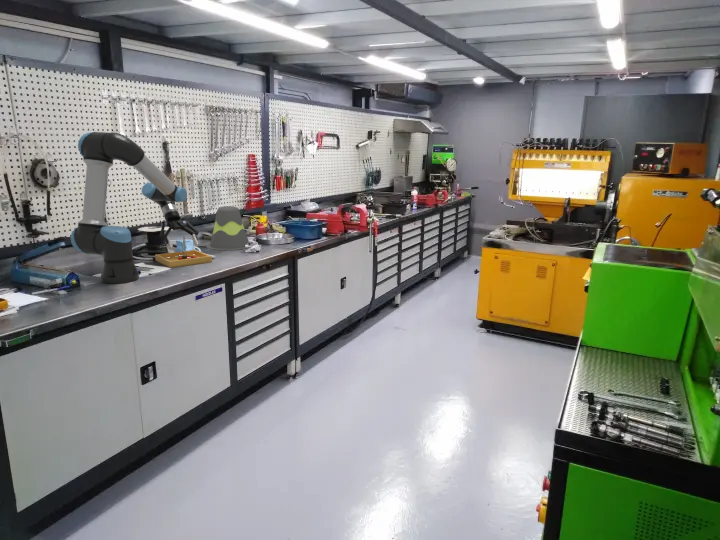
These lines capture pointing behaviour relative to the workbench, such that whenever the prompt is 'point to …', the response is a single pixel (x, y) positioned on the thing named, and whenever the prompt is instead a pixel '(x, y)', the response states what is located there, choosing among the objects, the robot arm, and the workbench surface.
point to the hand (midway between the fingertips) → (184, 246)
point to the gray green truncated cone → (228, 230)
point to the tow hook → (185, 251)
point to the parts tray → (175, 262)
